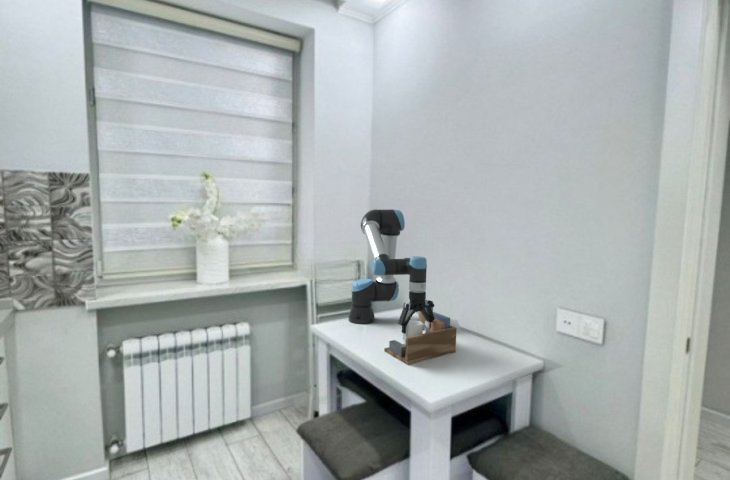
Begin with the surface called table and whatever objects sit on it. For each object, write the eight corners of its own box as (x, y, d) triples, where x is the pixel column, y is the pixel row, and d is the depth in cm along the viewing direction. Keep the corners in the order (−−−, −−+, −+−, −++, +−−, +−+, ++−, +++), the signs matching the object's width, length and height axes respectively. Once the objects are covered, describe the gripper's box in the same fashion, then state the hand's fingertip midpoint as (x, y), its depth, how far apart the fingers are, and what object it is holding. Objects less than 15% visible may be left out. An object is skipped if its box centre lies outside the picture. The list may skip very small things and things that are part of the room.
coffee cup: (433, 326, 215) (433, 299, 214) (434, 332, 206) (435, 304, 204) (415, 325, 216) (416, 299, 215) (416, 331, 207) (417, 303, 205)
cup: (400, 343, 178) (400, 321, 177) (421, 339, 184) (421, 318, 183) (411, 349, 171) (411, 326, 170) (432, 344, 177) (433, 322, 176)
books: (424, 342, 187) (425, 313, 185) (433, 340, 190) (434, 312, 188) (440, 349, 177) (441, 319, 176) (449, 347, 180) (450, 317, 179)
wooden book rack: (384, 351, 178) (384, 326, 177) (430, 340, 193) (431, 318, 192) (407, 364, 164) (408, 338, 163) (455, 352, 179) (456, 327, 178)
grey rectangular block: (389, 349, 176) (389, 341, 175) (394, 348, 177) (394, 340, 177) (401, 356, 168) (401, 347, 168) (406, 355, 170) (407, 346, 169)
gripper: (401, 295, 166) (400, 344, 167) (443, 289, 179) (441, 335, 180) (390, 292, 172) (389, 339, 174) (432, 287, 185) (431, 331, 187)
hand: (416, 337), depth 177 cm, fingers closed on cup, 12 cm apart
